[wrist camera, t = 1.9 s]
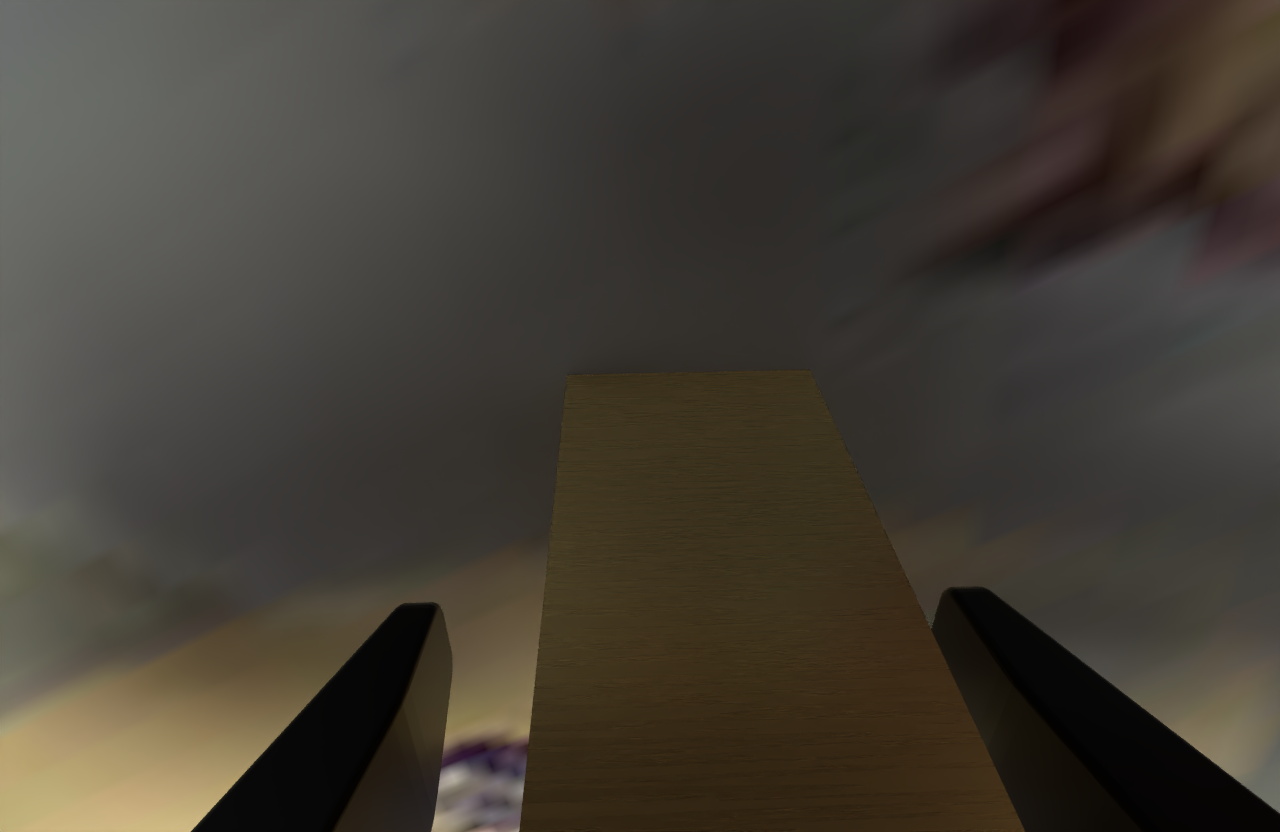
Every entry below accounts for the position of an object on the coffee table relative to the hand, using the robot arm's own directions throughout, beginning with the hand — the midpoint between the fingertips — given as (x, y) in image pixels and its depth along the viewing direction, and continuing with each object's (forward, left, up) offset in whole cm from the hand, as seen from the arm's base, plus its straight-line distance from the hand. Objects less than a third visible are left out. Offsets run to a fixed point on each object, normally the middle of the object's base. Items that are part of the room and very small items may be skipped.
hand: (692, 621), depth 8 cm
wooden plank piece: (0, 0, -1) cm, 1 cm away
